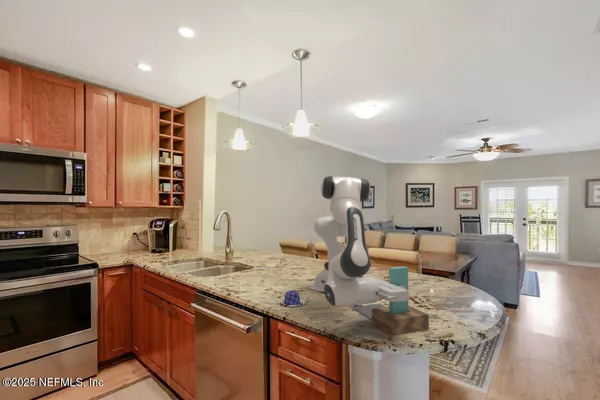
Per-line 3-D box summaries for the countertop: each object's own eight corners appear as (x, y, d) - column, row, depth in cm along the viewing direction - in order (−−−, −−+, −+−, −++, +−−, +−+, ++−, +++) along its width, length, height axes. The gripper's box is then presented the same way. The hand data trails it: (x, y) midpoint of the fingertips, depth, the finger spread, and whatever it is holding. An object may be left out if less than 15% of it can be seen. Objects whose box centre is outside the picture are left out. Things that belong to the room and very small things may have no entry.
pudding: (310, 304, 131) (310, 293, 131) (287, 310, 125) (287, 297, 125) (296, 298, 141) (296, 287, 141) (274, 302, 135) (274, 291, 135)
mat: (371, 320, 112) (371, 319, 112) (352, 308, 125) (352, 307, 125) (400, 315, 117) (400, 314, 117) (380, 304, 130) (380, 303, 130)
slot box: (391, 335, 99) (391, 320, 99) (371, 322, 110) (371, 309, 110) (428, 328, 104) (428, 314, 104) (406, 316, 115) (405, 304, 115)
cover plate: (392, 315, 105) (392, 269, 106) (389, 314, 107) (388, 267, 107) (408, 313, 108) (408, 267, 108) (404, 311, 109) (404, 266, 110)
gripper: (386, 289, 93) (420, 284, 98) (354, 274, 113) (384, 272, 117) (386, 308, 93) (421, 303, 98) (354, 291, 113) (384, 287, 117)
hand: (400, 286), depth 108 cm, fingers closed on cover plate, 2 cm apart
